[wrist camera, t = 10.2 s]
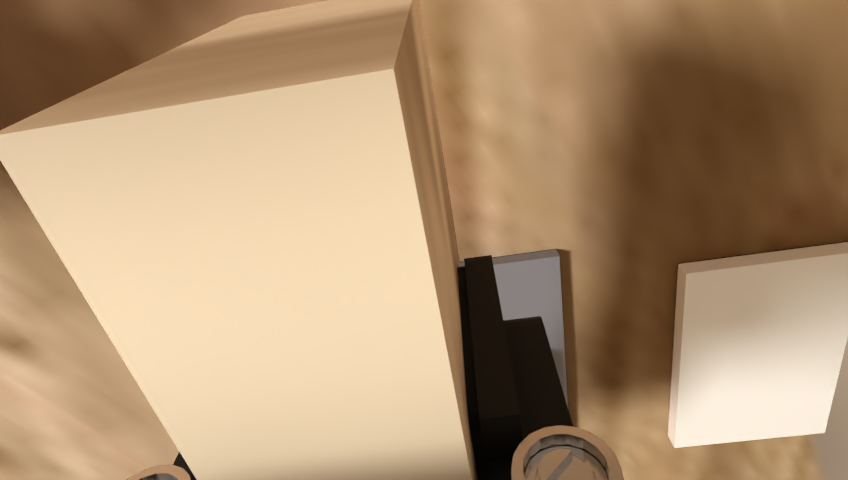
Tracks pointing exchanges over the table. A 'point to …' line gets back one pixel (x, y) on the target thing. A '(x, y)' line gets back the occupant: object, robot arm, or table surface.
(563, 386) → the mat
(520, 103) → the table surface
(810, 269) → the pad
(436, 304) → the beige piece
